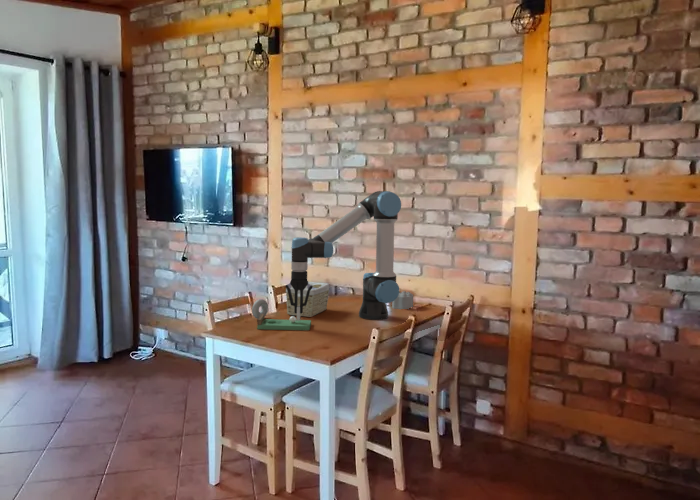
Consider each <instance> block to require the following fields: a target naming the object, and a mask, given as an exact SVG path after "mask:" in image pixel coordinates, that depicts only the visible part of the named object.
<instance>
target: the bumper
mask: <svg viewBox="0 0 700 500" xmlns="http://www.w3.org/2000/svg"><path fill="white" fill-rule="evenodd" d="M265 317H266V316H265V314H261V315H260V317H259V318H258V319H257V320H256V321H257V325H261V324H262V322H263V321H264V319H265ZM257 325H256V326H257Z"/></svg>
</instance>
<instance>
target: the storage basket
mask: <svg viewBox="0 0 700 500" xmlns="http://www.w3.org/2000/svg"><path fill="white" fill-rule="evenodd" d="M308 284H310V285H312V286H313V287H312V289H311V290H310V293H309V297H308V301H307V304H306V306H303V312H302V313H300V317H308V318H310V317H314V316H316V315H319V314H320V313H323V312H324V311H326V310H327V309H328V307H327V306H328V300H329V299H328V298H329V292H330V283H329V282H313V281H308ZM307 287H308V286H306V287H305V289H304V290H303V303H304V302H305V298H306V294H307V291H308V288H307ZM313 288H314V289H313ZM290 289H291V293H292V298H293V302H294V303H295V290H294V289H293V287H292V286H291V288H290ZM285 296H286V297H285V298H286V314H287V315H290V316H296V317H297V313H295V312H294V309H295V307H294V306H293V305H291V304H290V299H289V295H288V290H287V289H286V288H285ZM297 306H300V290H298V305H297Z"/></svg>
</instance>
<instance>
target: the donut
mask: <svg viewBox="0 0 700 500" xmlns="http://www.w3.org/2000/svg"><path fill="white" fill-rule="evenodd" d="M260 307H261V309H260ZM268 311H269V304H268V302H267V301H266V300H265V299H263V298H259V299H257V300H255V301H254V303H253V305H252V308H251V313H252V316H253V317H254V318H255V319H257V320H258V318H259V317H260V315H261V314H265V317H266V316H267V314H268Z"/></svg>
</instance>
